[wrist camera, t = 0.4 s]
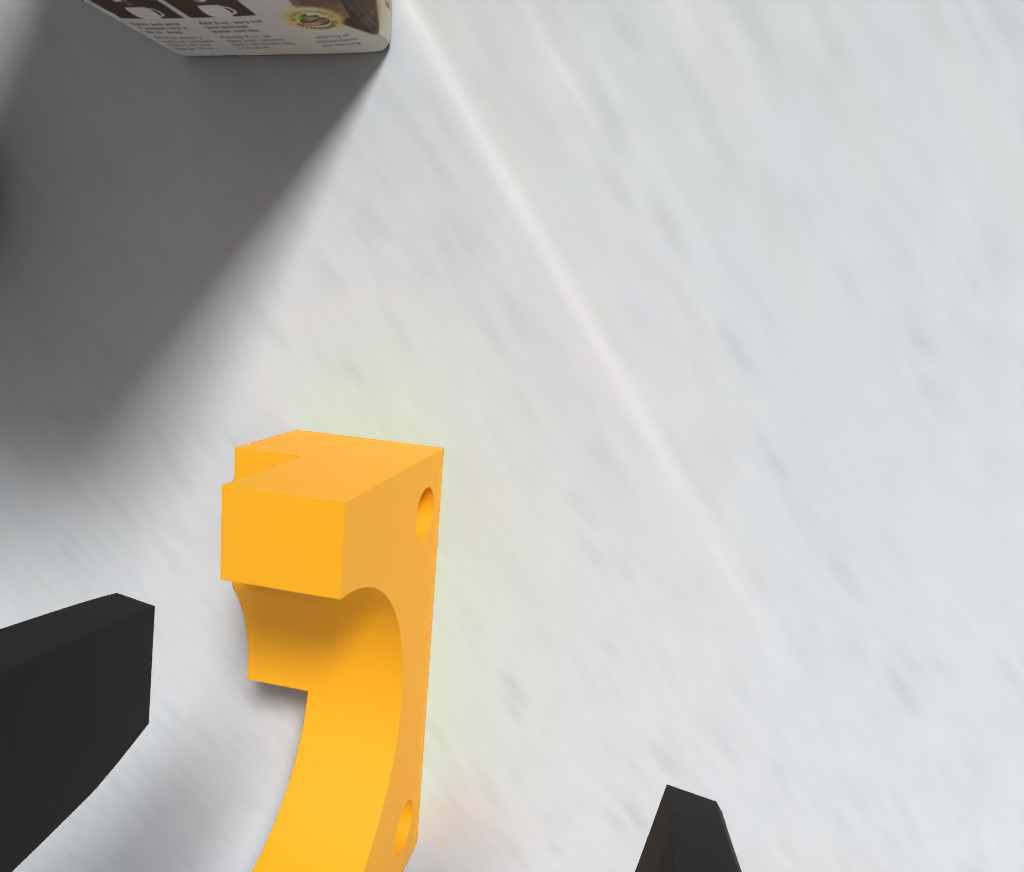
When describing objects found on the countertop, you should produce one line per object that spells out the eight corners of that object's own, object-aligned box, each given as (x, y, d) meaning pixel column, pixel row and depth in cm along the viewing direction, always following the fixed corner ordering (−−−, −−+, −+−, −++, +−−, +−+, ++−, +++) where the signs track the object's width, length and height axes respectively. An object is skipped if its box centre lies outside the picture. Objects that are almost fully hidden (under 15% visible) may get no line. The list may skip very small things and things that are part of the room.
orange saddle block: (299, 428, 21) (143, 473, 15) (445, 446, 20) (344, 503, 14) (286, 807, 23) (143, 987, 17) (419, 838, 22) (320, 1039, 16)
